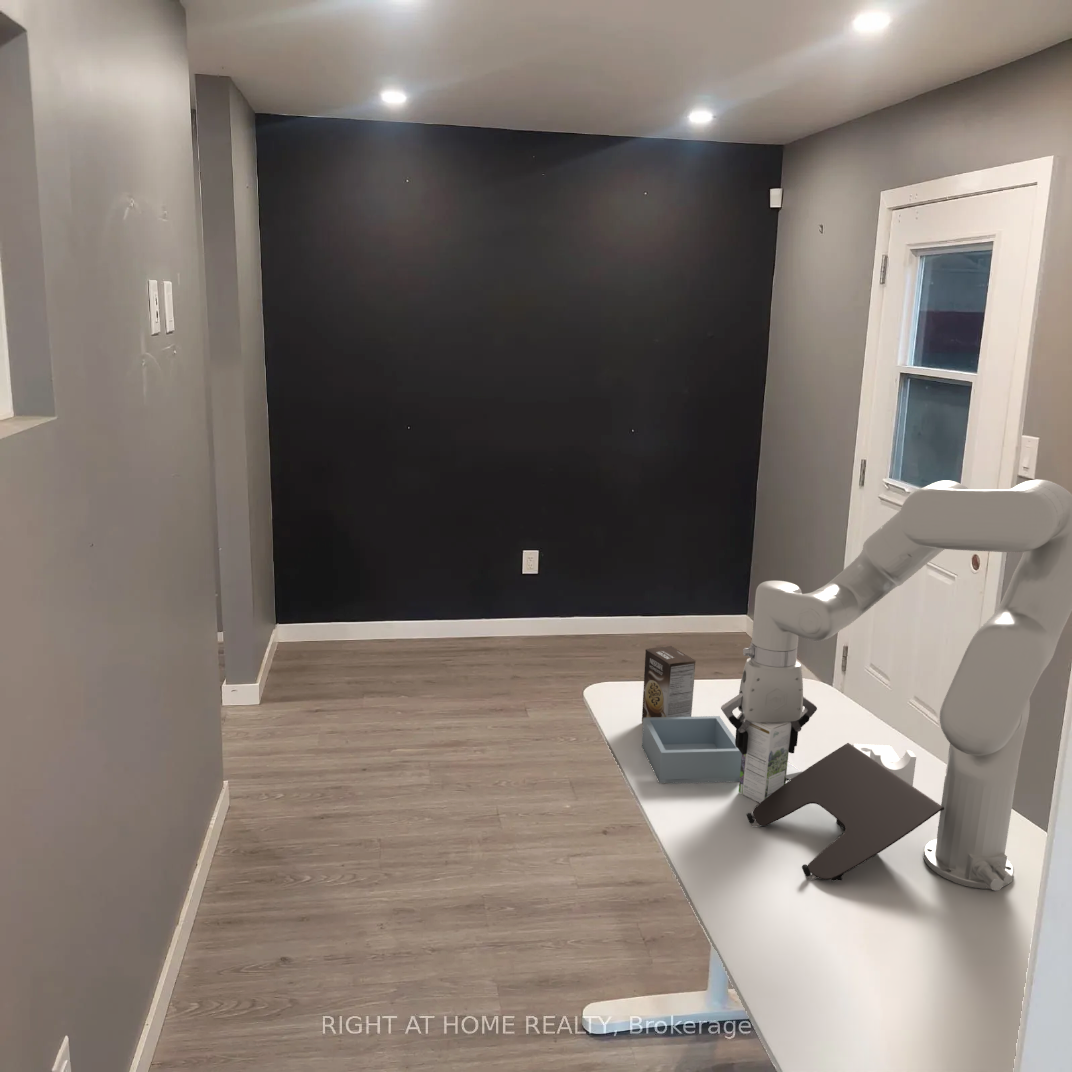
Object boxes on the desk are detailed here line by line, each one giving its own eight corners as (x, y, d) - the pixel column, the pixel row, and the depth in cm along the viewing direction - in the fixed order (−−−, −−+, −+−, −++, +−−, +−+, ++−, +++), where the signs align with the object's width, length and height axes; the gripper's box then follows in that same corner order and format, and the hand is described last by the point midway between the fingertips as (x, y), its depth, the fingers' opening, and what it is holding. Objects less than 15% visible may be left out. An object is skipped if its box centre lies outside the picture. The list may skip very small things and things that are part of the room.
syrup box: (758, 783, 169) (764, 708, 166) (785, 796, 165) (792, 719, 161) (737, 793, 166) (743, 716, 162) (765, 806, 161) (771, 727, 158)
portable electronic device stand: (752, 844, 161) (734, 804, 158) (859, 773, 165) (844, 732, 162) (835, 926, 140) (817, 881, 136) (956, 842, 144) (941, 796, 141)
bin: (741, 781, 170) (743, 750, 168) (659, 783, 168) (661, 752, 167) (717, 744, 184) (719, 716, 183) (641, 746, 183) (643, 717, 181)
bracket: (911, 796, 167) (916, 757, 165) (870, 794, 167) (875, 755, 165) (888, 762, 179) (893, 725, 178) (850, 760, 180) (854, 723, 178)
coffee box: (640, 723, 193) (644, 648, 190) (666, 718, 196) (671, 644, 192) (664, 741, 185) (668, 663, 182) (691, 735, 188) (696, 659, 184)
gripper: (730, 663, 155) (722, 761, 159) (832, 661, 157) (822, 759, 161) (717, 647, 162) (710, 742, 166) (814, 646, 164) (805, 739, 168)
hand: (765, 749), depth 163 cm, fingers closed on syrup box, 7 cm apart
